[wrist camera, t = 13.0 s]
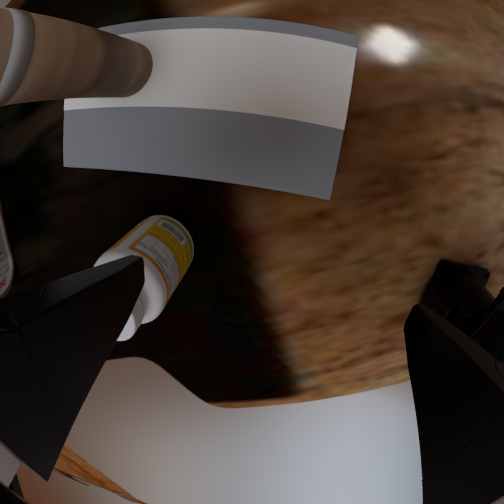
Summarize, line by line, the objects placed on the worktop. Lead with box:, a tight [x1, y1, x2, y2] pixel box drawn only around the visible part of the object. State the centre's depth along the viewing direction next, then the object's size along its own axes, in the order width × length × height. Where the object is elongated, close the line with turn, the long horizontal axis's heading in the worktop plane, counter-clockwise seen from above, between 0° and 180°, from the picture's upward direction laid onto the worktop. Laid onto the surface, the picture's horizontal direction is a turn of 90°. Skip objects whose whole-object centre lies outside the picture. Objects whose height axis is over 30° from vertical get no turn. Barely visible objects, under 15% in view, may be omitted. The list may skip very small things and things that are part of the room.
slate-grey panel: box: [63, 17, 358, 200], centre depth 18 cm, size 22×12×1 cm, turn 83°
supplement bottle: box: [94, 215, 194, 341], centre depth 19 cm, size 5×5×10 cm
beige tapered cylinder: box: [0, 8, 153, 106], centre depth 11 cm, size 5×5×13 cm
